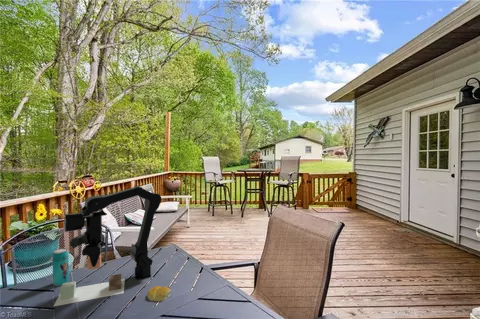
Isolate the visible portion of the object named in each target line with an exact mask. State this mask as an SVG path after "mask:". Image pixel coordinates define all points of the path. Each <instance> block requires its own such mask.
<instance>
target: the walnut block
mask: <svg viewBox="0 0 480 319" xmlns="http://www.w3.org/2000/svg"><path fill="white" fill-rule="evenodd" d="M121 280H122V273H117V274H112V275H109V279H108V282H109V291H112V290H117V289H121Z"/></svg>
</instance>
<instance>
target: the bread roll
mask: <svg viewBox="0 0 480 319" xmlns="http://www.w3.org/2000/svg"><path fill="white" fill-rule="evenodd" d="M171 295H172V290H171V289H170V288H169V287H168V286H164V285H163V286H160V285H155V286H153V287H151V288H150V289H148V291H147V300H149V301H152V302H163V301H165V300H167V299H168V298H170V297H171Z"/></svg>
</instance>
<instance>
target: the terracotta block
mask: <svg viewBox="0 0 480 319" xmlns="http://www.w3.org/2000/svg"><path fill="white" fill-rule="evenodd" d="M86 264H87V270H88V271H89V270H95V269H100V268H101V266H102V252H101V253H100V256H99V258H98V261H97V264H96V266H95V267H92V264H91V261H90V258H89V256H88V255H87V263H86Z"/></svg>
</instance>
